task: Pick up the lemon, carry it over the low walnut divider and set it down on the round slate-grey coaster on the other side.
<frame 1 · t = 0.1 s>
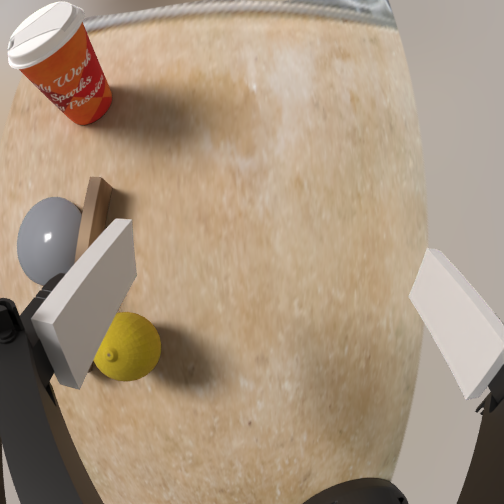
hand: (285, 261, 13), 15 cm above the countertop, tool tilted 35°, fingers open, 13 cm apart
paper cup: (91, 105, 30), on the countertop
lemon: (140, 339, 27), on the countertop
coaster: (52, 241, 27), on the countertop
divider: (92, 278, 27), on the countertop
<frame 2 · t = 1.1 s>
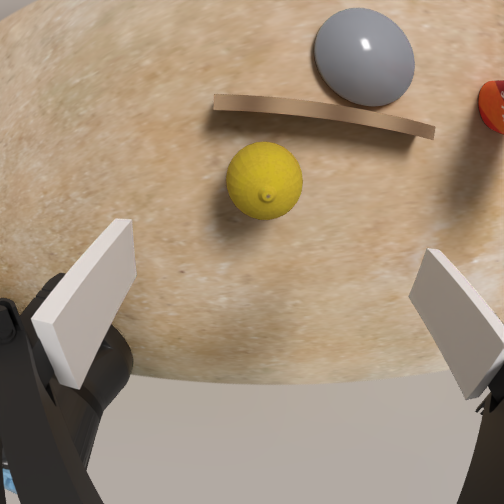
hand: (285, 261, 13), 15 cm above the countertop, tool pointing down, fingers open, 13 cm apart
paper cup: (494, 106, 23), on the countertop
lemon: (261, 167, 26), on the countertop
coaster: (365, 56, 21), on the countertop
divider: (326, 110, 24), on the countertop
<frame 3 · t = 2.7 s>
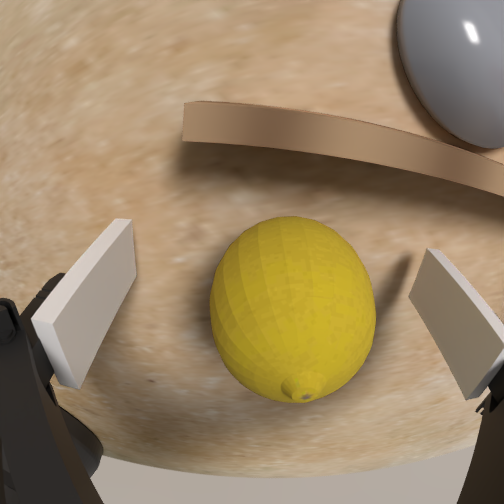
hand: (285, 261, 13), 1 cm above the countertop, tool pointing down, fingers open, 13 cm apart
lemon: (282, 245, 14), on the countertop
coaster: (476, 55, 9), on the countertop
divider: (411, 146, 12), on the countertop
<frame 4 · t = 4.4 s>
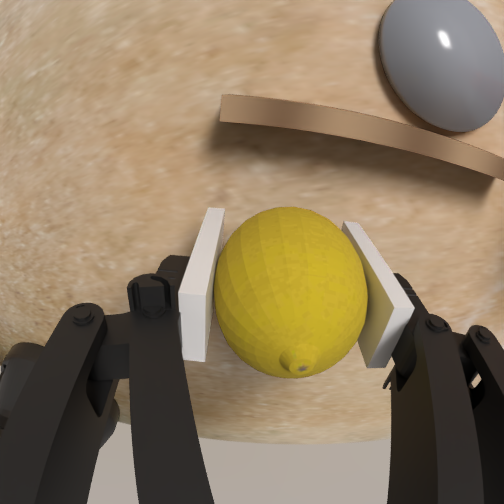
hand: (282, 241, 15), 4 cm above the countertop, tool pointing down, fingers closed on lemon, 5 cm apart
lemon: (281, 236, 15), point 3 cm above the countertop, touching gripper
coaster: (447, 57, 13), on the countertop
divider: (391, 130, 15), on the countertop
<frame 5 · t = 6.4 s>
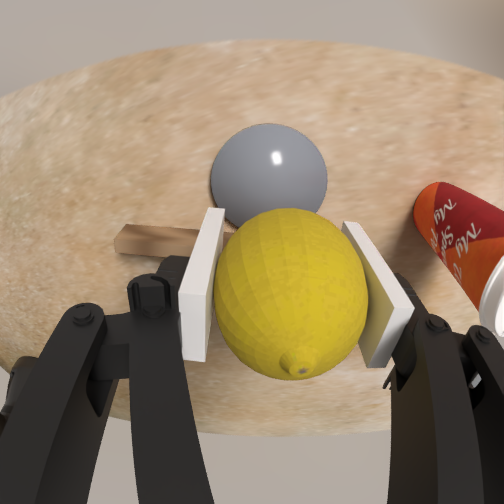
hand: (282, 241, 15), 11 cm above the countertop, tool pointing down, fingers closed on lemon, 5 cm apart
paper cup: (436, 209, 26), on the countertop
lemon: (281, 237, 15), point 11 cm above the countertop, touching gripper
coaster: (269, 179, 25), on the countertop
divider: (226, 238, 27), on the countertop
when the fingers open (2 cm above the countertop, at t = 8.6 s): lemon stays where it is, resting on coaster.
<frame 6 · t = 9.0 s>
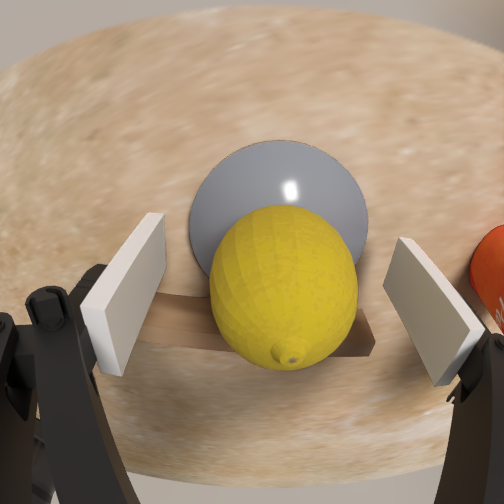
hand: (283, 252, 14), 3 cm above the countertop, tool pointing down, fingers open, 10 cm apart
paper cup: (495, 259, 17), on the countertop
lemon: (277, 233, 16), point 1 cm above the countertop, touching coaster
coaster: (279, 227, 16), on the countertop
divider: (216, 307, 19), on the countertop
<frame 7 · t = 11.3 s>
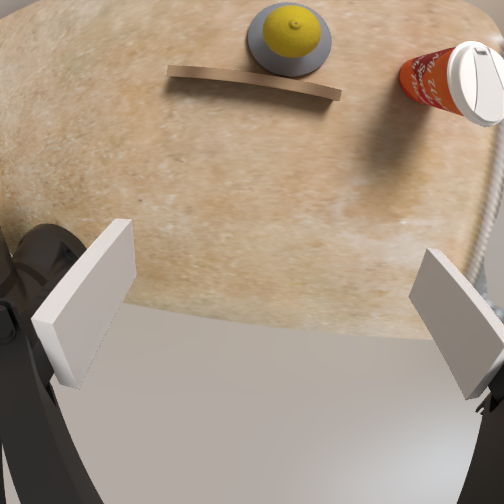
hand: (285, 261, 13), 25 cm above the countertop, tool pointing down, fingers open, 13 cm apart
paper cup: (418, 81, 29), on the countertop
lemon: (288, 38, 28), point 1 cm above the countertop, touching coaster
coaster: (289, 39, 28), on the countertop
divider: (254, 79, 31), on the countertop
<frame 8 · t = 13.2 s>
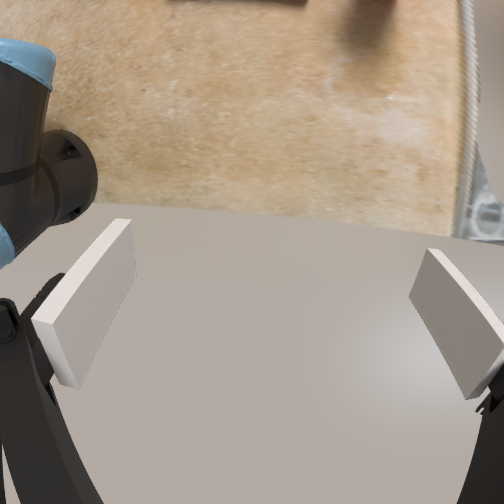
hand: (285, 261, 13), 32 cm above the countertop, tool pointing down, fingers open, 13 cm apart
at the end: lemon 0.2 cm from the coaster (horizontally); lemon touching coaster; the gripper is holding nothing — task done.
